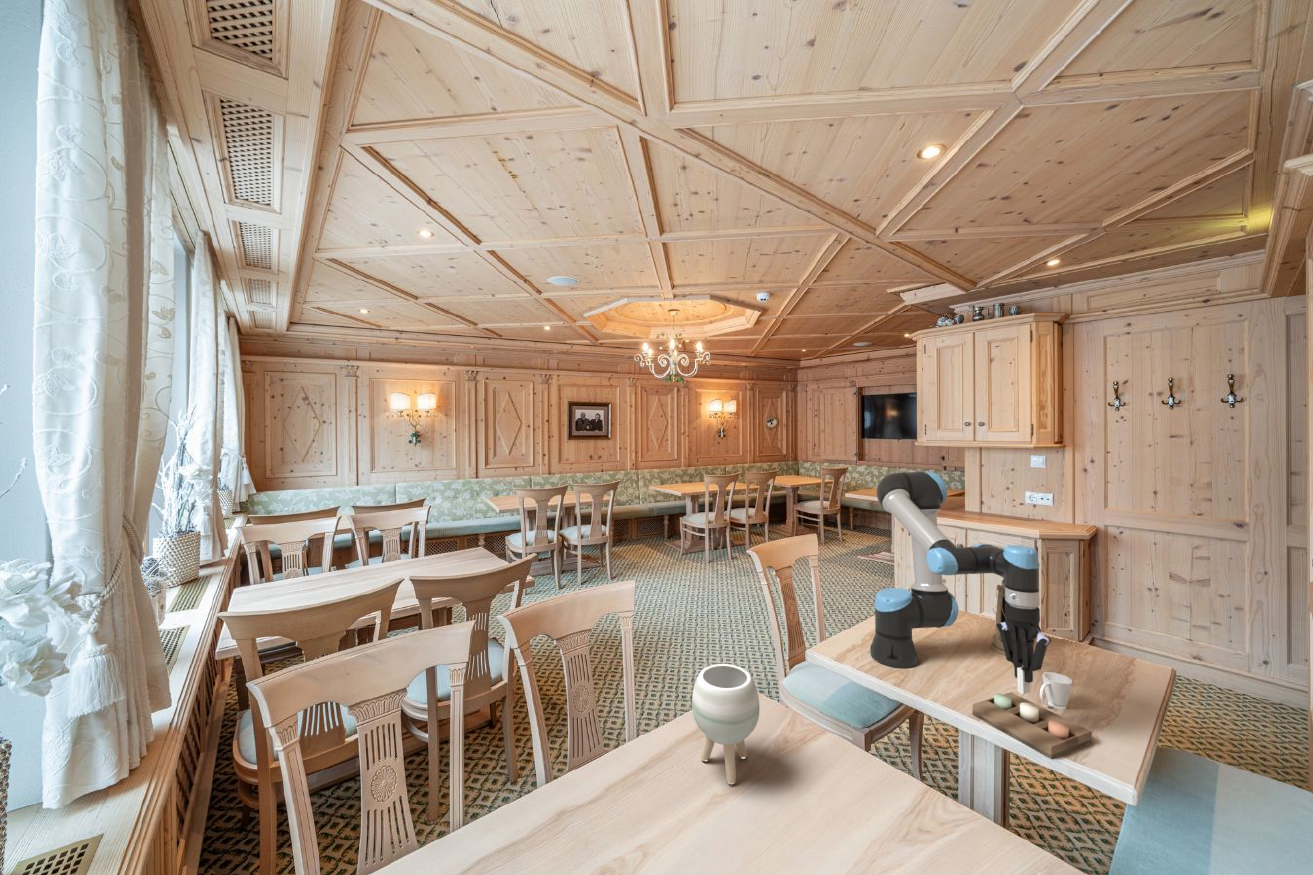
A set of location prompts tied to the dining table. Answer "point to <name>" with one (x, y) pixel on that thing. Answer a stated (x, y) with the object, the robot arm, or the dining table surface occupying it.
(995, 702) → the pale green egg
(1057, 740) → the wooden egg tray
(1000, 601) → the lantern
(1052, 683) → the cup
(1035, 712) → the white egg
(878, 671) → the dining table surface
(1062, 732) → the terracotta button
